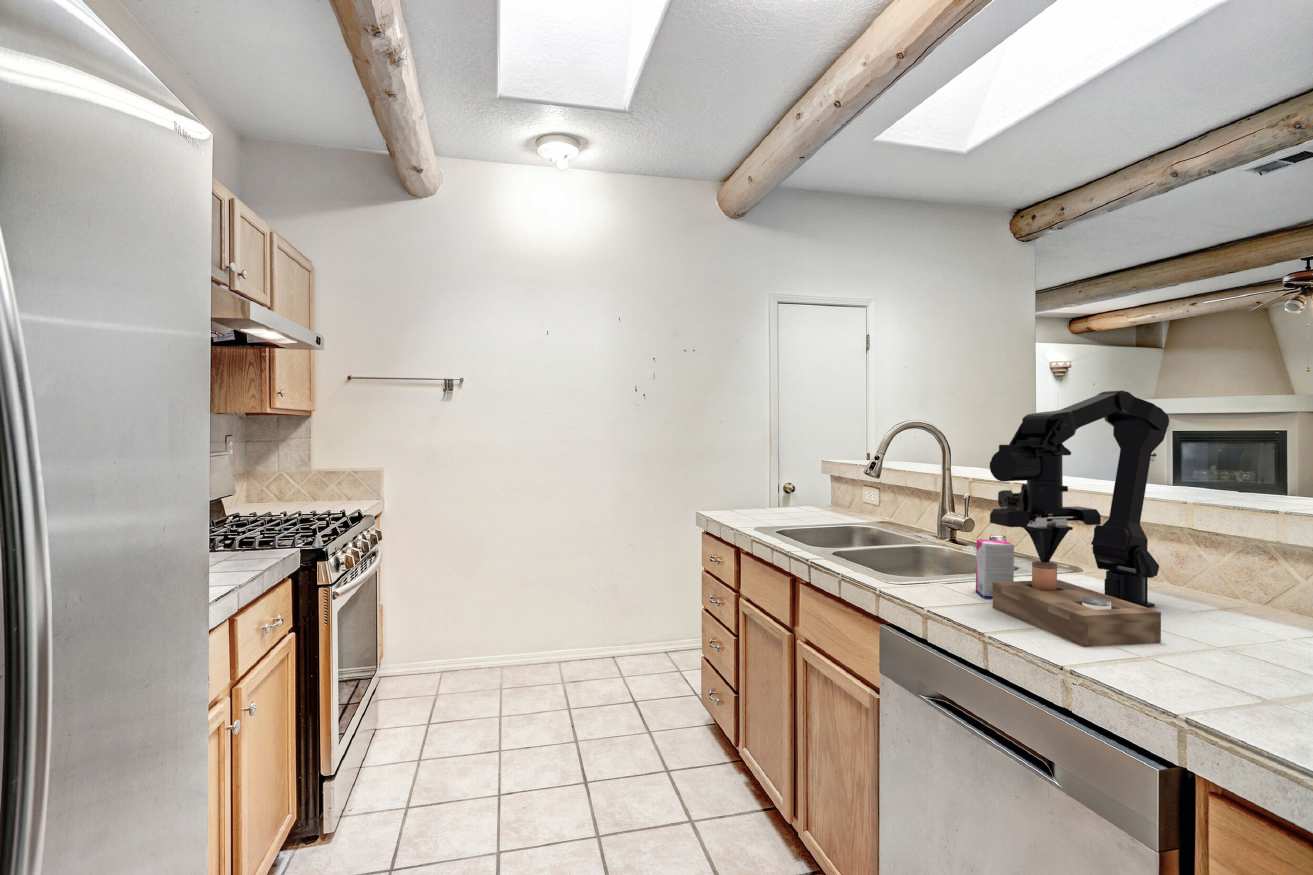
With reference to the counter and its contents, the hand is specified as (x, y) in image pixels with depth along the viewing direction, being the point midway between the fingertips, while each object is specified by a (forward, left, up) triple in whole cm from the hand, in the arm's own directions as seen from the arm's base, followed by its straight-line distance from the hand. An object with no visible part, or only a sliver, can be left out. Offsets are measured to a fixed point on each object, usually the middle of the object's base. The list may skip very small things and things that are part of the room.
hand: (1044, 562), depth 117 cm
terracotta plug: (0, 0, -6) cm, 6 cm away
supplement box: (+1, -13, -10) cm, 16 cm away
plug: (0, +12, -9) cm, 15 cm away
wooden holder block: (0, +6, -10) cm, 11 cm away
